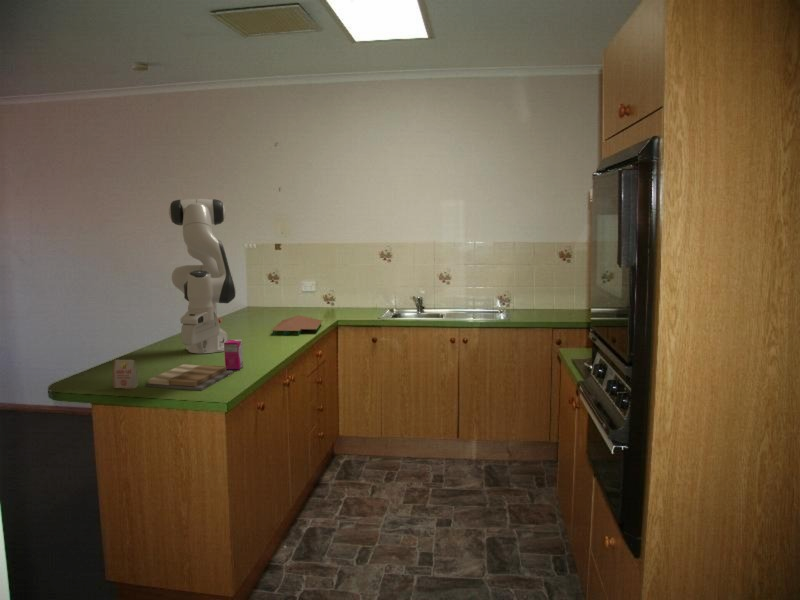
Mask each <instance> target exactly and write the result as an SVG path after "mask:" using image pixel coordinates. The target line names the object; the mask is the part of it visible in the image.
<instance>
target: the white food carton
mask: <svg viewBox="0 0 800 600" xmlns="http://www.w3.org/2000/svg"><path fill="white" fill-rule="evenodd" d="M112 379H113V380H112V382H113V383H112V384H113V389H114V388H125V389H124V390H131V389H132V390H133V389H135V388H137V387H138V386H139V385H138V384H139V382H138V381H139V380H138V369H137V366H136V362H135V359H114V360H113V369H112Z"/></svg>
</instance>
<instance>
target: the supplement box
mask: <svg viewBox="0 0 800 600" xmlns="http://www.w3.org/2000/svg"><path fill="white" fill-rule="evenodd" d="M223 352H224V366H226V370H227V371H234V370H239V371H241V370H242V369H243V368H244V367H243V366H244V353H243V339H228V341H226V342H225V343H224V351H223ZM242 367H243V368H242ZM241 368H242V369H241ZM240 369H241V370H240Z"/></svg>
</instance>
